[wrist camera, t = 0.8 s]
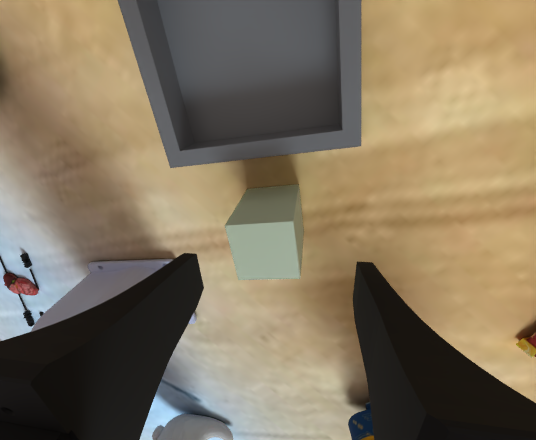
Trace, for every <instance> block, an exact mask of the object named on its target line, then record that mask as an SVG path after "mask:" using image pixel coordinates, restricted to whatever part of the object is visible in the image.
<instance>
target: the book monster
mask: <svg viewBox="0 0 536 440" xmlns="http://www.w3.org/2000/svg"><path fill="white" fill-rule="evenodd" d="M516 345H517V346H518V347H519V348H521V349H522V350H523V351H524V352H525V353H526V354H528V355H529V356H530V357H536V333H535V334H534V335H532V336H531V337H527V338H522V339H521V340H520V341H519V342H518V343H517V344H516Z"/></svg>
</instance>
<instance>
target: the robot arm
mask: <svg viewBox="0 0 536 440" xmlns="http://www.w3.org/2000/svg"><path fill="white" fill-rule="evenodd" d="M88 269H89V271H90V272H91V273H90V274H89V275H88V276H87V277H86V278H84V279H83V280H82V281H81V282H80V283H79V284H77V285H76V286H75V287H74V288H73V289H72V290H71V291H69V292H68V293H67V294H66V295H65V296H64V297H62V298H61V299H60V300H59V301H58V302H57V303H56V304H54V305H53V306H52V307H51V308H50V309H49V310H47V311H46V312H45V313H44V314H43V315H42V316H41V317H40V318H39V319H38V321H37V322H36V324H35V325H34V327H33V328H32V331H31V332H29V333H26V334H23V335H20V336H16V337H13V338H10V339H7V340H4V341H0V440H139V439H140V436H141V433H142V430H143V427H144V425H145V422H146V419H147V416H148V413H149V410H150V407H151V405H152V402H153V399H154V397H155V394H156V392H157V389H158V386H159V384H160V381H161V379H162V376H163V374H164V371H165V369H166V367H167V364H168V362H169V359H170V357H171V355H172V353H173V351H174V349H175V347H176V345H177V344H178V342H179V340H180V338H181V336H182V334H183V332H184V330H185V329H186V327H187V325H188V324H194V323H195V322H196V320H197V318H196V315H195V313H194V312H195V310H196V308H197V305H198V303H199V300H200V297H201V294H202V291H203V289H204V286H203V282H202V277H201V273H200V268H199V263H198V259H197V254H190V253H184V254H182V255H180V256H179V257H177V258H175V259H174V260H173V259H153V260H127V261H101V262H91V263H89V264H88ZM353 307H354V318H355V324H356V329H357V334H358V338H359V343H360V348H361V352H362V357H363V362H364V366H365V371H366V376H367V382H368V389H369V398H370V406H371V415H372V424H373V433H374V440H536V403H535V402H533V401H531V400H530V399H528V398H526V397H525V396H523V395H521V394H520V393H518V392H517V391H515V390H513V389H512V388H510V387H508V386H507V385H505V384H504V383H502V382H501V381H499V380H498V379H496V378H495V377H494V376H492V375H491V374H489V373H488V372H486V371H485V370H483V369H482V368H480V367H479V366H478V365H476V364H475V363H473V362H472V361H471V360H469V359H468V358H467V357H465V356H464V355H463V354H461V353H460V352H459V351H458V350H456V349H455V348H454V347H452V346H451V345H450V344H449V343H447V342H446V341H445V340H444V339H443V338H441V337H440V336H439V335H438V334H437V333H436V332H435V331H433V330H432V329H431V328H430V327H429V326H428V325H427V324H426V323H424V322H423V321H422V320H421V319H420V318H419V317H418V316H417V315H416V314H415V313H414V312H413V310H412V309H411V308H410V307H409V306H408V305H407V304H406V303H405V302H404V301H403V300H402V299H401V297H400V296H399V295H398V294H397V293H396V292H395V291H394V289H393V288H392V287H391V286H390V284H389V283H388V282H387V281H386V279H385V278H384V277H383V276H382V274H381V273H380V272H379V270H378V269H377V268H376V266H375V265H374V264H373V263H372V262H357V266H356V275H355V283H354V292H353Z"/></svg>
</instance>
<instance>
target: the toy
mask: <svg viewBox="0 0 536 440" xmlns="http://www.w3.org/2000/svg"><path fill="white" fill-rule="evenodd" d="M152 437H153V440H207V439H209V438H212V437H219V438H222V439H224V440H233V435H232V433H231V431H230V429H229V428H228V427H227V426H226V425H225V424H224V423H223V422H221V421H219V420H217V419H214V418H210V417H206V416H200V415H193V414H181V415H178V416H176V417H175V418H173V419H172V420H170V421H169V422H168V423H167V424H166V426H165V427H163V426H162V425H160V426H158V427H157V428H156V429H155V431H154V432H153V435H152Z"/></svg>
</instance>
